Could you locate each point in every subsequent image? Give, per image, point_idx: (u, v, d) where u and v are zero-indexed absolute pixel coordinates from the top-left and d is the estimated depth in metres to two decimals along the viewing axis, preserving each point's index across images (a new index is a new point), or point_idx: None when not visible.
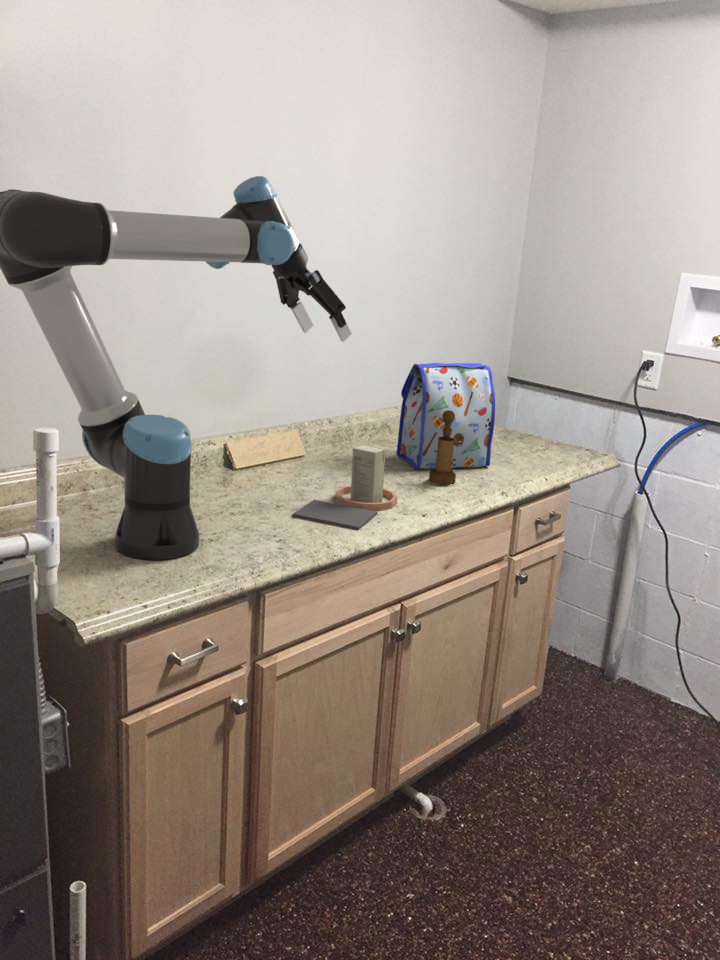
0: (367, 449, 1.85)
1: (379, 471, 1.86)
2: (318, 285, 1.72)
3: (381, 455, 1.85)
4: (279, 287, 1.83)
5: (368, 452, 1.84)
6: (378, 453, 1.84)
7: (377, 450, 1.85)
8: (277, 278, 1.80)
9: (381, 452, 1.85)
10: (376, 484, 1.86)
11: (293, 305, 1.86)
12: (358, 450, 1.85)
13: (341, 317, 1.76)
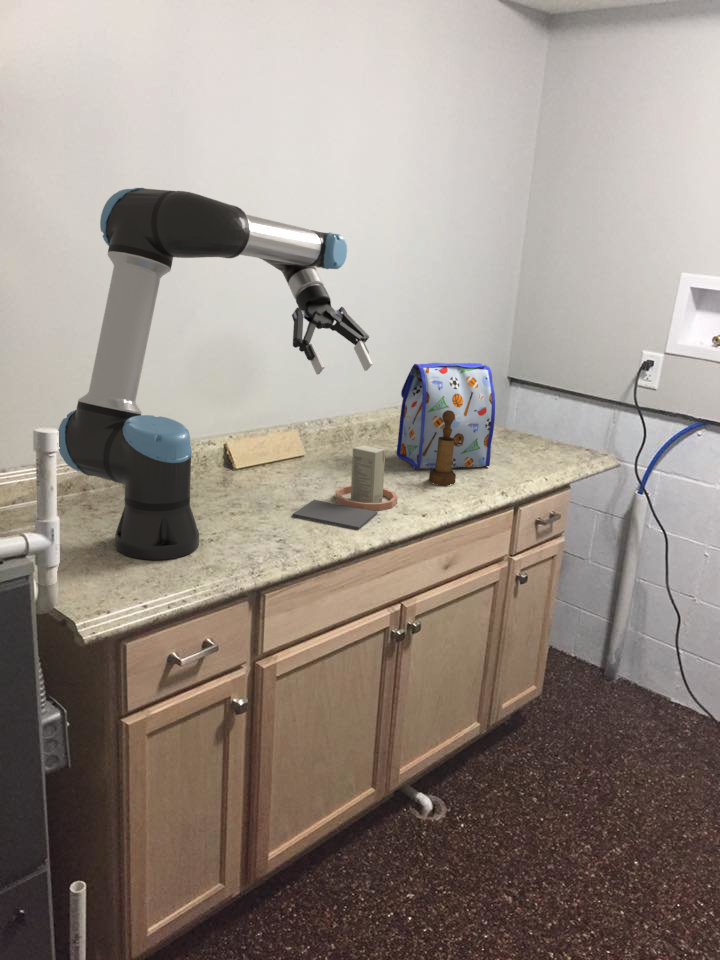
0: (367, 449, 1.85)
1: (379, 471, 1.86)
2: None
3: (381, 455, 1.85)
4: (300, 322, 1.87)
5: (368, 452, 1.84)
6: (378, 453, 1.84)
7: (377, 450, 1.85)
8: (300, 313, 1.89)
9: (381, 452, 1.85)
10: (376, 484, 1.86)
11: None
12: (358, 450, 1.85)
13: None
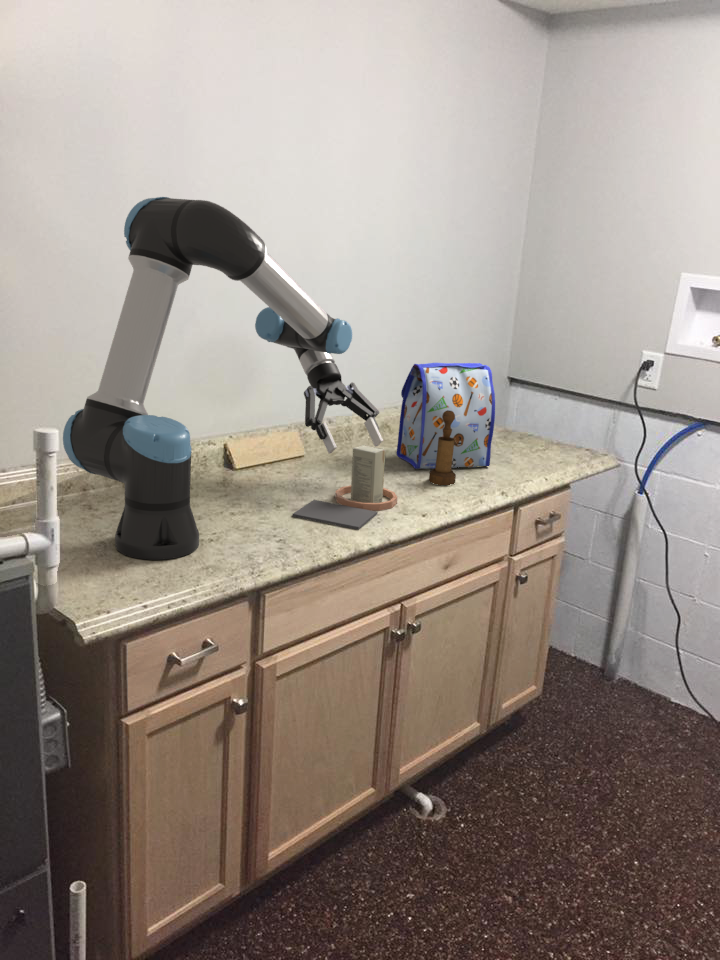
0: (367, 449, 1.85)
1: (379, 471, 1.86)
2: None
3: (381, 455, 1.85)
4: (312, 401, 1.90)
5: (368, 452, 1.84)
6: (378, 453, 1.84)
7: (377, 450, 1.85)
8: (312, 392, 1.91)
9: (381, 452, 1.85)
10: (376, 484, 1.86)
11: None
12: (358, 450, 1.85)
13: None
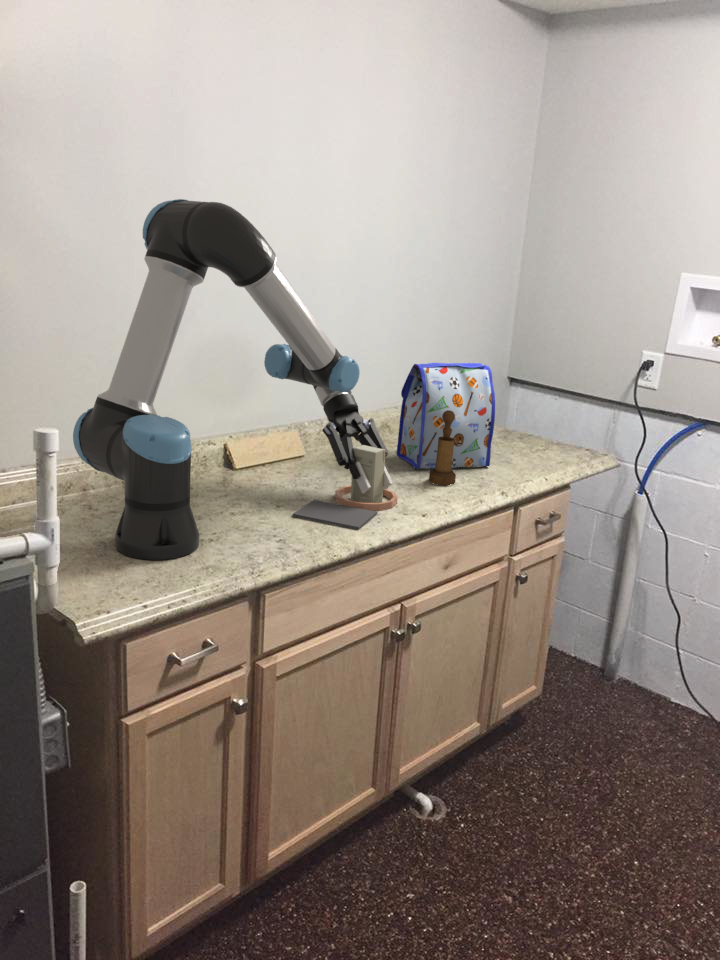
0: (367, 449, 1.85)
1: (379, 471, 1.86)
2: None
3: (381, 455, 1.85)
4: (338, 439, 1.85)
5: (368, 452, 1.84)
6: (378, 453, 1.84)
7: (377, 450, 1.85)
8: (333, 428, 1.86)
9: (381, 452, 1.85)
10: (376, 484, 1.86)
11: None
12: (358, 450, 1.85)
13: None
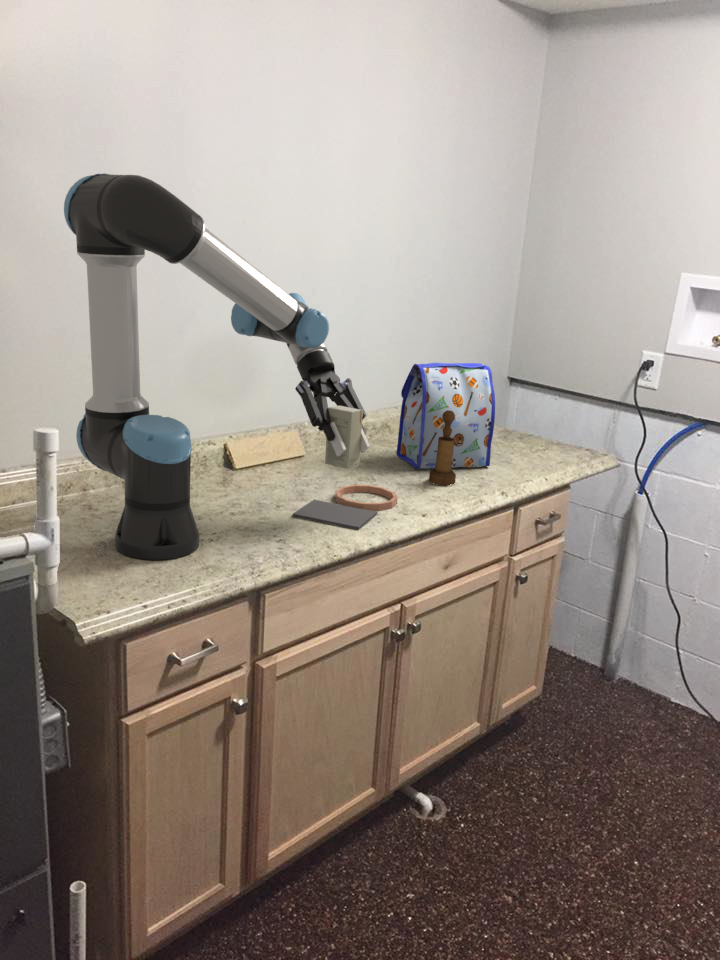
0: (343, 409, 1.72)
1: (356, 433, 1.73)
2: None
3: (358, 415, 1.72)
4: (311, 398, 1.72)
5: (344, 411, 1.71)
6: (355, 413, 1.71)
7: (354, 410, 1.72)
8: (307, 387, 1.73)
9: (358, 412, 1.72)
10: (352, 447, 1.73)
11: None
12: (334, 409, 1.72)
13: None
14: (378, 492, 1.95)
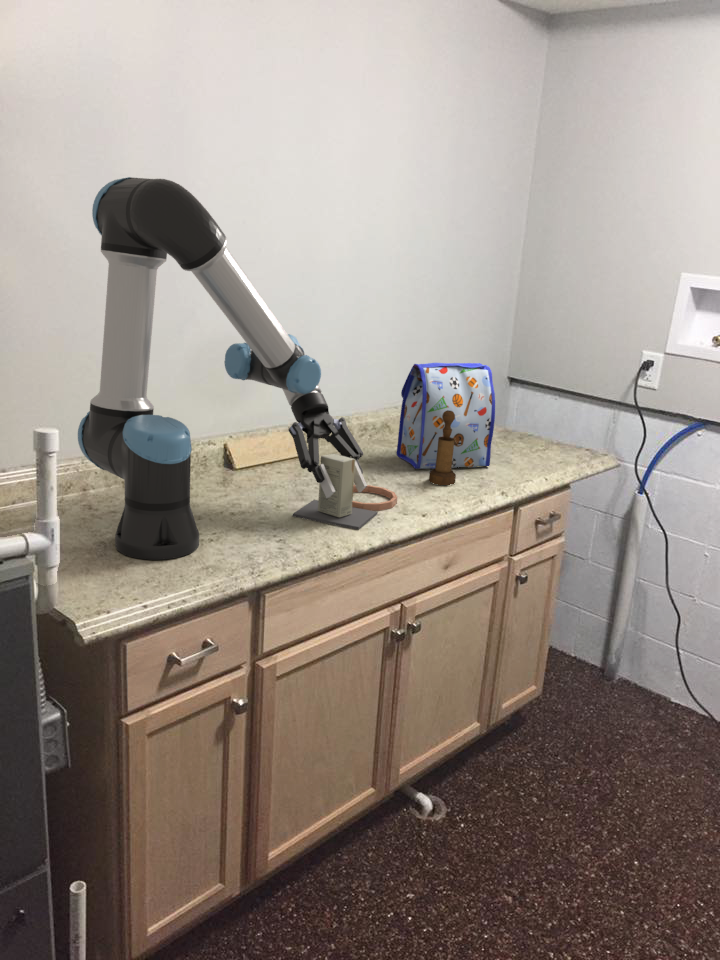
0: (336, 458, 1.74)
1: (348, 481, 1.74)
2: None
3: (350, 465, 1.74)
4: (302, 440, 1.73)
5: (336, 461, 1.73)
6: (346, 463, 1.72)
7: (346, 459, 1.73)
8: (299, 429, 1.74)
9: (350, 461, 1.73)
10: (344, 496, 1.74)
11: None
12: (326, 458, 1.74)
13: None
14: (378, 492, 1.95)
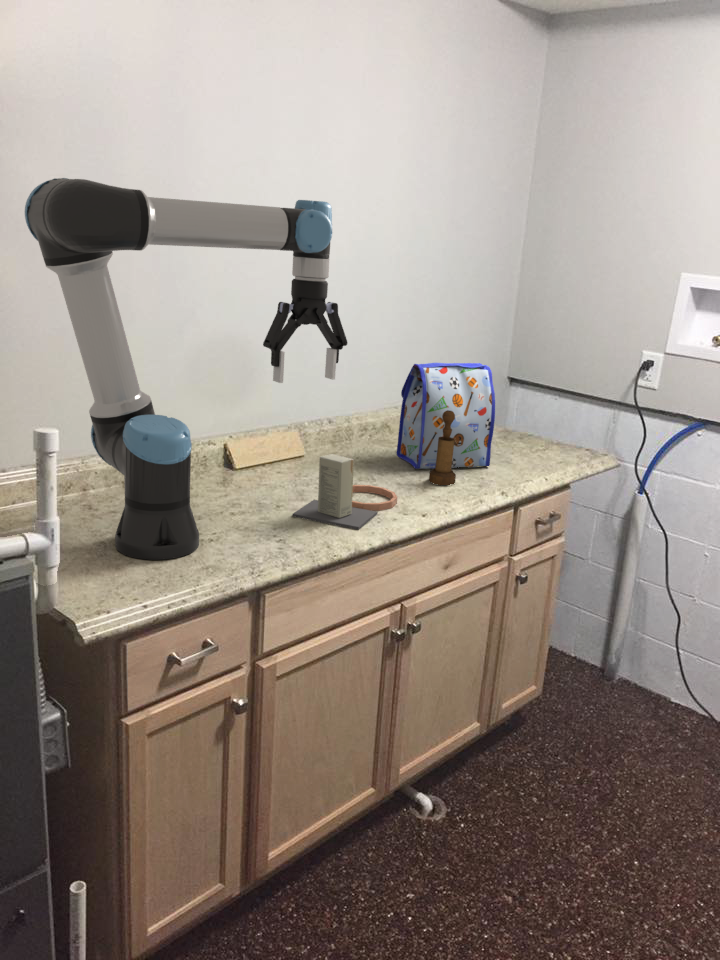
0: (334, 458, 1.74)
1: (347, 482, 1.74)
2: None
3: (349, 465, 1.73)
4: (281, 324, 1.71)
5: (335, 461, 1.72)
6: (345, 463, 1.72)
7: (345, 459, 1.73)
8: (287, 311, 1.71)
9: (349, 462, 1.73)
10: (343, 496, 1.74)
11: None
12: (325, 459, 1.74)
13: None
14: (378, 492, 1.95)
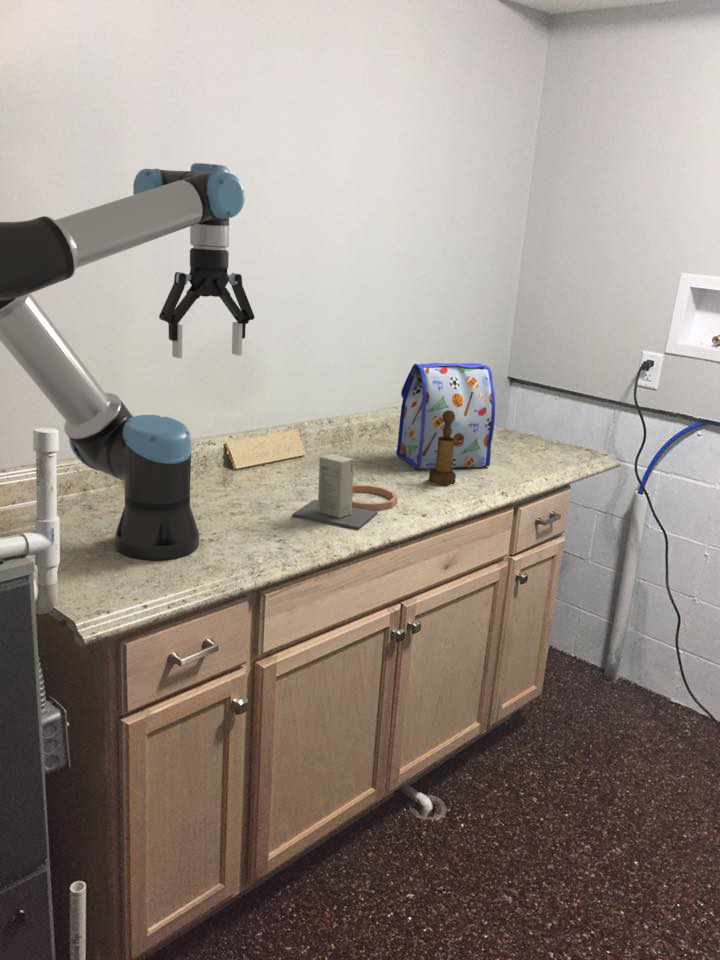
0: (334, 458, 1.74)
1: (347, 482, 1.74)
2: None
3: (349, 465, 1.73)
4: (177, 295, 1.62)
5: (335, 461, 1.72)
6: (345, 463, 1.72)
7: (345, 459, 1.73)
8: (183, 282, 1.62)
9: (349, 462, 1.73)
10: (343, 496, 1.74)
11: None
12: (325, 459, 1.74)
13: None
14: (378, 492, 1.95)
